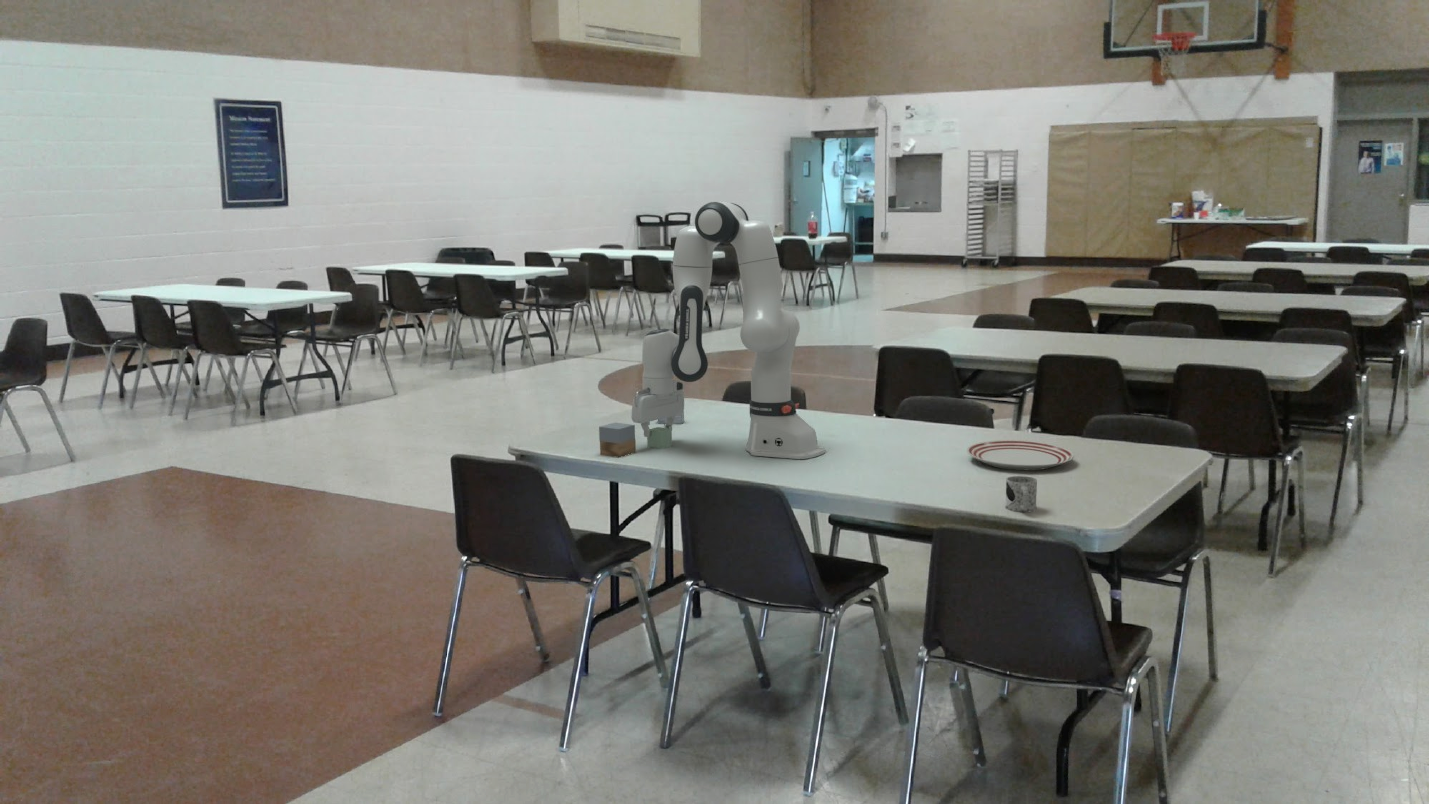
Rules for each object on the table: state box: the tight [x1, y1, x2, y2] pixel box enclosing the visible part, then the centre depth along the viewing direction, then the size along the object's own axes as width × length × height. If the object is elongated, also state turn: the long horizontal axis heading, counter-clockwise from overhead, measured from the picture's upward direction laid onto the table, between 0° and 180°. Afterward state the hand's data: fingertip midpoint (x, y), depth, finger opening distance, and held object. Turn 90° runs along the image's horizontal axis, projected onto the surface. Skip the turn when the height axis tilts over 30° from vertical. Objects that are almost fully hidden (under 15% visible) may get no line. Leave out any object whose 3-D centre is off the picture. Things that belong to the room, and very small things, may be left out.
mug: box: [1005, 475, 1038, 513], centre depth 259 cm, size 10×7×7 cm, turn 175°
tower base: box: [599, 438, 637, 458], centre depth 322 cm, size 7×7×4 cm
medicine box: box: [657, 409, 685, 425], centre depth 366 cm, size 8×4×9 cm, turn 84°
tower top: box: [598, 422, 636, 443], centre depth 322 cm, size 7×7×4 cm
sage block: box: [646, 426, 673, 450], centre depth 331 cm, size 5×5×5 cm
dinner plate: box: [966, 439, 1075, 471], centre depth 306 cm, size 27×27×3 cm
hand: (658, 433), depth 332 cm, fingers open, 8 cm apart
